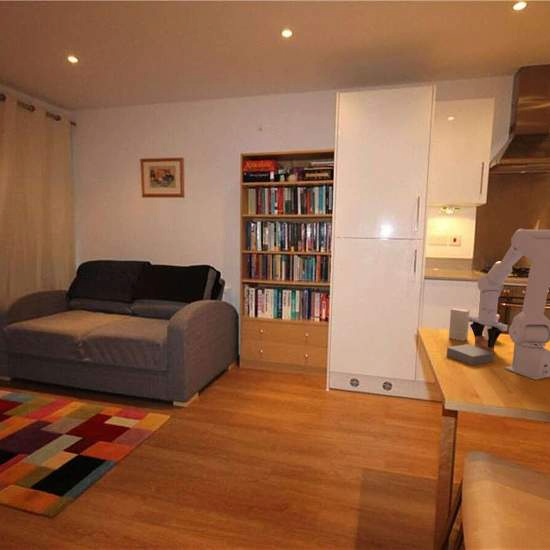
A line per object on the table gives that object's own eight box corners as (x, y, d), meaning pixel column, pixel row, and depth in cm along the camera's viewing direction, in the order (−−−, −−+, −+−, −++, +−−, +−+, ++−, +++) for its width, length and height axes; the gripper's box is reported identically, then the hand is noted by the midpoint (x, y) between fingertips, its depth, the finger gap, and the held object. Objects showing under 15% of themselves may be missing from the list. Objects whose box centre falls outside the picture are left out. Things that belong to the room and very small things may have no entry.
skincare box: (467, 339, 149) (470, 310, 147) (464, 341, 146) (467, 311, 144) (451, 336, 153) (453, 307, 151) (448, 338, 150) (450, 309, 148)
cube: (493, 350, 136) (495, 338, 135) (485, 352, 134) (486, 339, 133) (482, 346, 140) (483, 335, 139) (474, 348, 138) (475, 336, 137)
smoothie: (492, 335, 155) (496, 302, 153) (500, 340, 149) (504, 305, 147) (476, 334, 156) (479, 302, 154) (483, 339, 149) (487, 305, 148)
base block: (493, 361, 124) (493, 352, 124) (472, 365, 120) (473, 356, 120) (466, 352, 133) (467, 344, 133) (446, 355, 129) (447, 347, 129)
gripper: (514, 312, 130) (511, 349, 132) (477, 304, 143) (474, 338, 145) (501, 313, 127) (497, 352, 129) (464, 305, 140) (461, 340, 142)
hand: (484, 345), depth 137 cm, fingers closed on cube, 4 cm apart
